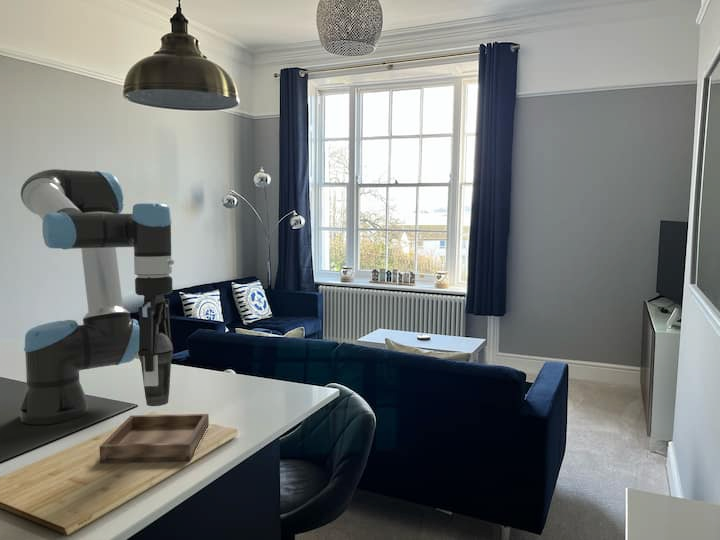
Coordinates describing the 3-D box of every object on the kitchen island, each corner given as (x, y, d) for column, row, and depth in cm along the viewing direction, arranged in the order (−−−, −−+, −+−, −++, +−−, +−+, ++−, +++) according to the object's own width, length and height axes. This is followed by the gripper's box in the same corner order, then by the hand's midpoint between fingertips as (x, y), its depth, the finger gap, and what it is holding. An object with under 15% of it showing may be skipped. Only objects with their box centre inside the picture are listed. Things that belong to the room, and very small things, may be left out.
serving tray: (100, 463, 110) (99, 446, 110) (131, 430, 128) (130, 415, 128) (190, 460, 112) (190, 444, 111) (208, 428, 130) (208, 413, 129)
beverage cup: (163, 395, 124) (160, 308, 123) (181, 402, 120) (179, 312, 118) (133, 403, 119) (129, 312, 117) (150, 410, 114) (147, 316, 112)
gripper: (157, 280, 107) (160, 394, 109) (183, 271, 127) (186, 368, 129) (118, 280, 107) (122, 394, 108) (150, 272, 127) (153, 368, 128)
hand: (157, 380), depth 119 cm, fingers closed on beverage cup, 7 cm apart
